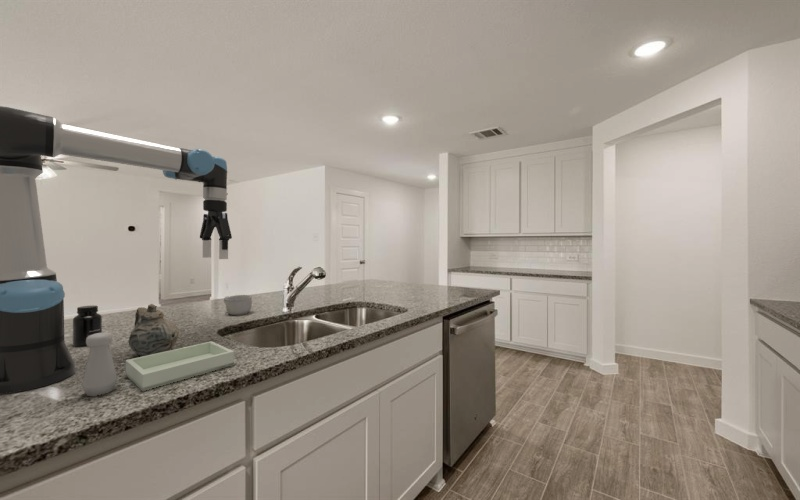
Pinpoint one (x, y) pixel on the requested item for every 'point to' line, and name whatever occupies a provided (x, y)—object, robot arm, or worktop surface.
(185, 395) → the worktop surface
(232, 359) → the tray
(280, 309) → the worktop surface
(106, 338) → the salt shaker
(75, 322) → the supplement bottle
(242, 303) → the teacup
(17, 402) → the worktop surface
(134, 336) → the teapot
